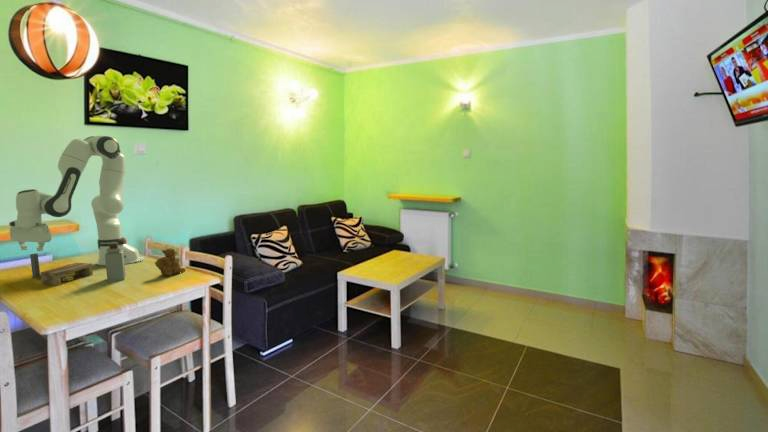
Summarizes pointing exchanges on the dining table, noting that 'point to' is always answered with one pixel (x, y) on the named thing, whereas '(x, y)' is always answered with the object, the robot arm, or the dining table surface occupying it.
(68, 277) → the token
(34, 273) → the slab with upright peg
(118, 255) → the perfume bottle
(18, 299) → the dining table surface
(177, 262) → the stuffed squirrel
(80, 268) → the bench
